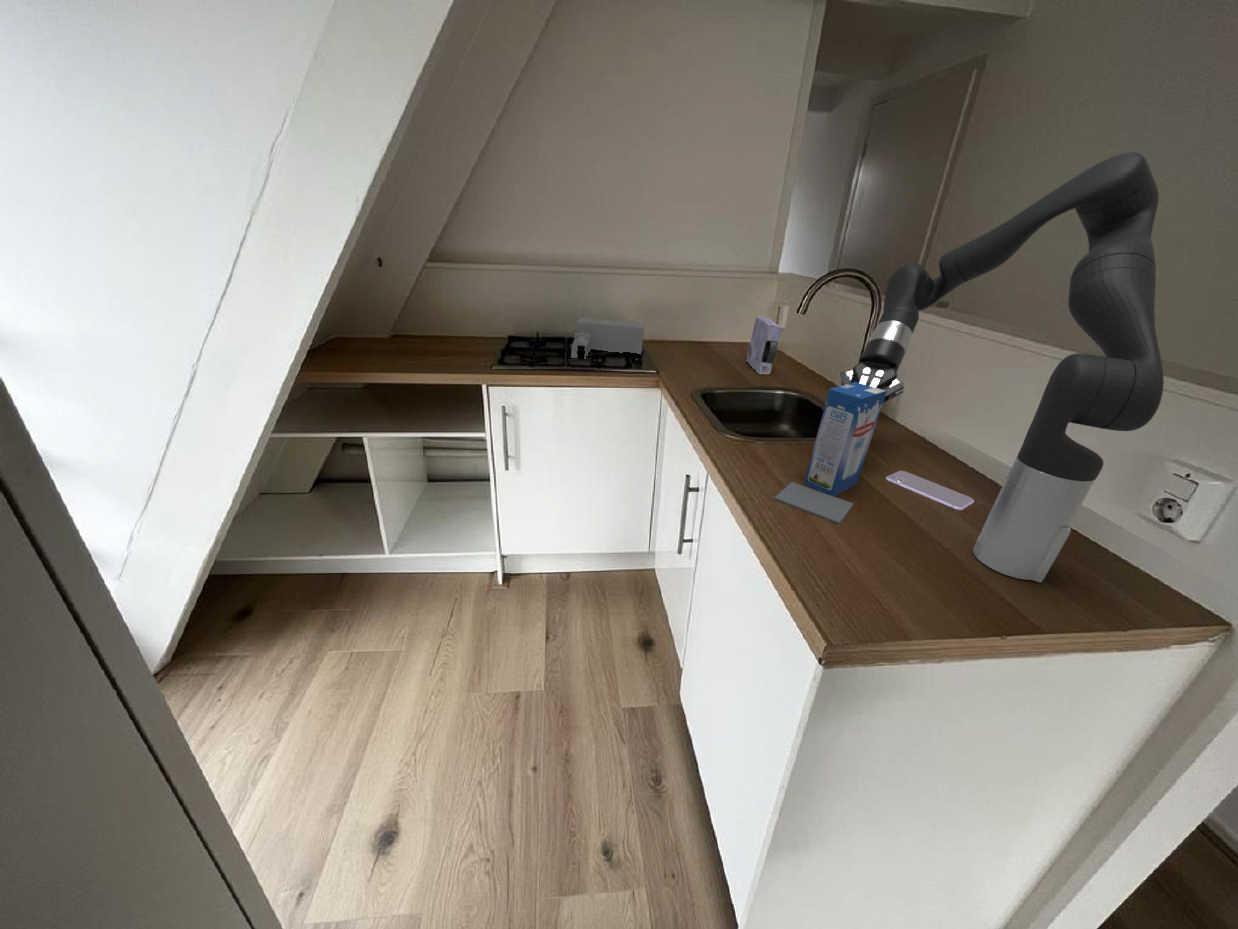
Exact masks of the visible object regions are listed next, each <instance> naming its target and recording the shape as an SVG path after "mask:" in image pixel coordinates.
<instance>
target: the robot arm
mask: <svg viewBox="0 0 1238 929" xmlns="http://www.w3.org/2000/svg"><path fill="white" fill-rule="evenodd" d="M1158 190H1159V189H1158V187H1157V183H1156V181H1155V179H1154V176H1153V174H1152V171H1151V169H1150V166H1149V164H1148V162H1147V159H1146V158H1145V157H1144V155H1143V154H1142V153H1139V152H1131V151H1129V152H1123V153H1120V154H1116V155H1113V156H1111V157H1109V158H1106V159H1104V160H1102V161H1099V162H1098V163H1096V164H1095V165H1093V166H1091V167H1089V168H1087V169H1086V170H1084V171H1082V172H1081V173H1079V174H1077V175H1075V176H1074V177H1072V178H1071V179H1069V180H1067V181H1066V182H1065V183H1063V184H1062V185H1060V186H1059V187H1057V188H1055V189H1054V190H1052V191H1051V192H1049V193H1048V194H1046V195H1044V196H1042V198H1039V200H1037V201H1035V202H1034V203H1032V204H1030V205H1029V206H1028V207H1026V208H1025V209H1023V210H1021V211H1020V212H1019V213H1017V214H1015V215H1014V216H1012V217H1011V218H1009V219H1008V220H1006V221H1004V222H1003V223H1001V224H1000V225H997V226H996V227H994V228H992V229H991V230H989V231H987V232H986V233H985V232H984V234H982V235H979V236H978V237H976V238H974V239H972V240H969V241H967V242H966V243H963V244H962V245H960V246H958V247H955V248H953V249H952V250H950V251H948V252H946V253H944V254H943V255H942V256H941V257H940V259H939V261H938V268H939V272H940V274H939V275H938V276H937V277H936V278H934V279H932V278H933V277H932V276H930V274H929V272H927V270H926V268H924V266H923V265H922V264H920V263H918V262H908V263H905V264H903V265H901V266H900V267H899V268H897V269H896V270H895V271H894V272H893V274H892V275H891V276H890V278H889V280H888V282H887V285H886V289H885V296H884V301H883V310H882V311H883V312H882V314H881V315H880V316H881V317H880V319H879V321H878V323H877V325H876V327H875V329H874V330H873V331H872V333H871V335H870V337H869V338H868V340H867V344H866V346H865V347H864V350H863V352H862V354H861V357H860V358H859V361H858V362H857V364H856V365H854V366H853V368H852V370H850V371H845V370H842V371H840V372H839V381H840V384H841V386H842V385H846V384H850V383H852V380H853V379H852V378H854V382H857V383H861V384H864V385H868V386H871V387H875V388H878V389H882V390H886V391H887V392H886V395H885V398H884V401H883V404H884V403H886V402H888V401H890V400H892V399H894V398H896V397H898V396H900V395H901V394H903V393H904V390H905V383H904V382H900V381H899V380H898V370H899V369H900V366H901V364H902V361H903V359H904V357H905V354H906V353H907V350H908V347H909V346H910V342H911V338H912V336H913V333H914V332H915V329H916V327H917V324H918V322H919V317H920V313H919V311H923V310H926V309H928V308H930V307H931V306H933V305H934V304H935V303H937V302H938V301H939V300H941V299H942V298H943V297H945V296H947V295H948V294H949V293H951V292H952V291H953V290H955V289H956V288H957V287H959V286H961V285H962V284H965V283H967V282H969V281H971V280H973V279H975V278H978V277H979V276H982V275H984V274H987V273H989V272H991V271H994V270H995V269H998V267H1000V266H1002V265H1003V264H1004V263H1006V262H1007V261H1008V260H1009V259H1011V258H1012V257H1013V256H1014V254H1016V253H1017V252H1018V251H1019V250H1020V249H1021V248H1022V246H1023V245H1025V243H1026V242H1027V241H1029V239H1030V238H1031V237H1032V236H1033V235H1034V234H1035V233H1036V232H1037V231H1038V230H1040V229H1041V228H1042V227H1043V226H1044V225H1046V224H1047V223H1048V222H1051V221H1052V220H1054V219H1055V218H1056V217H1058V216H1061V215H1063V214H1065V213H1066V212H1069V211H1071V210H1074V209H1075V211H1076V214H1077V216H1078V218H1079V220H1080V222H1081V225H1082V226H1083V228H1084V230H1085V233H1086V235H1087V240H1088V252H1087V254H1086V255H1084V256H1083V257H1082V258H1081V259H1080V260H1079V261H1078V263H1076V265H1075V267H1074V268H1073V271H1072V274H1071V276H1070V280H1069V290H1068V291H1069V292H1068V310H1069V312H1070V314H1071V316H1072V318H1073V319H1074V321H1075V323H1076V324H1077V325H1078V326H1079V327H1080V328H1081V329H1082V330H1083V331H1084V332H1085V334H1086V335H1087V336H1088V337H1089V338H1090V339H1091V340H1092V341H1094V343H1095V344H1096V345H1097V346H1098V347H1099V348H1100V349H1101V350H1102V352H1103V353H1104V355H1105V356H1100V355H1093V354H1086V353H1073V354H1069V355H1067V356H1065V357H1064V358H1063V359H1062V360H1061V361H1060V362H1059V363H1058V364H1057V366H1056V367H1055V368H1054V370H1053V372H1052V373H1051V376H1050V377H1049V380H1048V381H1047V383H1046V386H1045V389H1044V392H1043V393H1042V395H1041V396H1042V397H1041V399H1040V402H1039V404H1038V407H1037V409H1036V411H1035V414H1034V416H1033V419H1032V421H1031V423H1030V426H1029V427H1028V430H1027V432H1026V435H1025V438H1024V440H1023V442H1022V445H1021V447H1020V450H1019V451H1018V454H1017V456H1016V457H1015V460H1014V461H1013V464H1012V466H1011V468H1010V471H1009V472H1008V475H1007V477H1006V479H1005V481H1004V483H1003V485H1002V487H1001V489H1000V491H999V493H998V495H997V498H996V500H995V501H994V503H993V506H992V508H991V510H990V512H989V514H988V517H987V518H986V521H985V523H984V525H983V527H982V530H981V531H980V533H979V535H978V537H977V539H976V542H975V543H974V544H975V545H974V546H973V549H972V553H973V554H974V556H975V558H976V559H977V560H978V561H979V562H981V564H984V565H985V566H987V567H988V568H990V569H991V570H993V571H996V572H998V573H1000V574H1002V575H1005V576H1009V577H1011V578H1015V579H1021V580H1026V581H1033V582H1037V583H1042V584H1043V581H1044V580H1045V578H1046V576H1047V574H1048V573H1049V570H1050V569H1051V567H1052V565H1053V564H1054V562H1055V560H1056V558H1057V557H1058V555H1059V553H1060V551H1061V550H1062V548H1063V546H1064V544H1065V543H1066V541H1067V539H1068V538H1069V536H1070V535H1071V533H1072V530H1071V529H1072V528H1071V524H1072V522H1073V521H1074V518H1075V517H1076V515H1077V513H1078V511H1079V509H1080V508H1081V506H1082V504H1083V502H1084V500H1085V499H1086V497H1087V495H1088V494H1089V492H1090V490H1091V489H1092V487H1093V485H1094V483H1095V481H1096V480H1097V478H1098V476H1099V475H1100V473H1101V471H1102V469H1103V467H1104V463H1105V462H1104V459H1103V458H1102V457H1101V455H1099V454H1098V453H1097V452H1095V451H1094V450H1092V449H1090V448H1089V447H1086V446H1084V445H1083V444H1081V443H1078V442H1077V441H1075V440H1073V439H1072V438H1071V437H1070V436H1068V435H1067V433H1066V432H1067V427H1068V424H1069V423H1070V424H1071V423H1072V424H1075V425H1081V426H1087V427H1092V428H1099V429H1103V430H1109V431H1117V432H1131V431H1132V432H1133V431H1136V430H1138V429H1141V428H1143V427H1145V425H1147V424H1148V423H1149V422H1150V421H1151V420H1152V419H1153V417H1154V416H1155V415H1156V413H1157V411H1158V409H1159V408H1160V405H1161V402H1162V397H1163V393H1164V385H1165V384H1164V382H1165V381H1164V380H1165V379H1164V369H1163V364H1162V363H1163V362H1162V358H1161V352H1160V348H1159V344H1158V343H1159V342H1158V338H1157V331H1156V320H1155V319H1156V317H1155V299H1156V289H1157V288H1156V287H1157V285H1156V281H1157V280H1156V277H1157V276H1156V274H1157V273H1156V270H1157V269H1156V259H1155V258H1156V257H1155V249H1154V245H1153V242H1152V233H1153V226H1154V222H1155V218H1156V214H1157V211H1158V206H1159V196H1160V195H1159V191H1158ZM886 388H887V389H886Z"/></svg>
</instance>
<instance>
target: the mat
mask: <svg viewBox="0 0 1238 929" xmlns="http://www.w3.org/2000/svg"><path fill="white" fill-rule="evenodd" d="M774 501H776V502H779V503H783V504H785V505H788V506H790V507H793V508H795V509H798V510H799V511H803V512H806V513H808V514H811V515H813V516H816V517H819V518H821V519H825V520H827V521H829V522H832V523H834V524H837V525H841V523H842V521H843V520H844V518H845V517H846V516H847V514H848V513H849V512H850V511H851V509H852V508H853V506H854V503H853V502H851V501H847V500H844V499H842V498H839V497H836V496H831V495H828V494H825V493H823V492H821V491H818V490H816V489H814V488H812V487H809V486H804V485H801V484H799V483H796V482H794V481H791V482H790V483H789V484H788V485H787V486H785V487H784V489H783V490H782V491H780V492H779V493H778V494H777V495H776V496H775V497H774Z"/></svg>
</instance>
